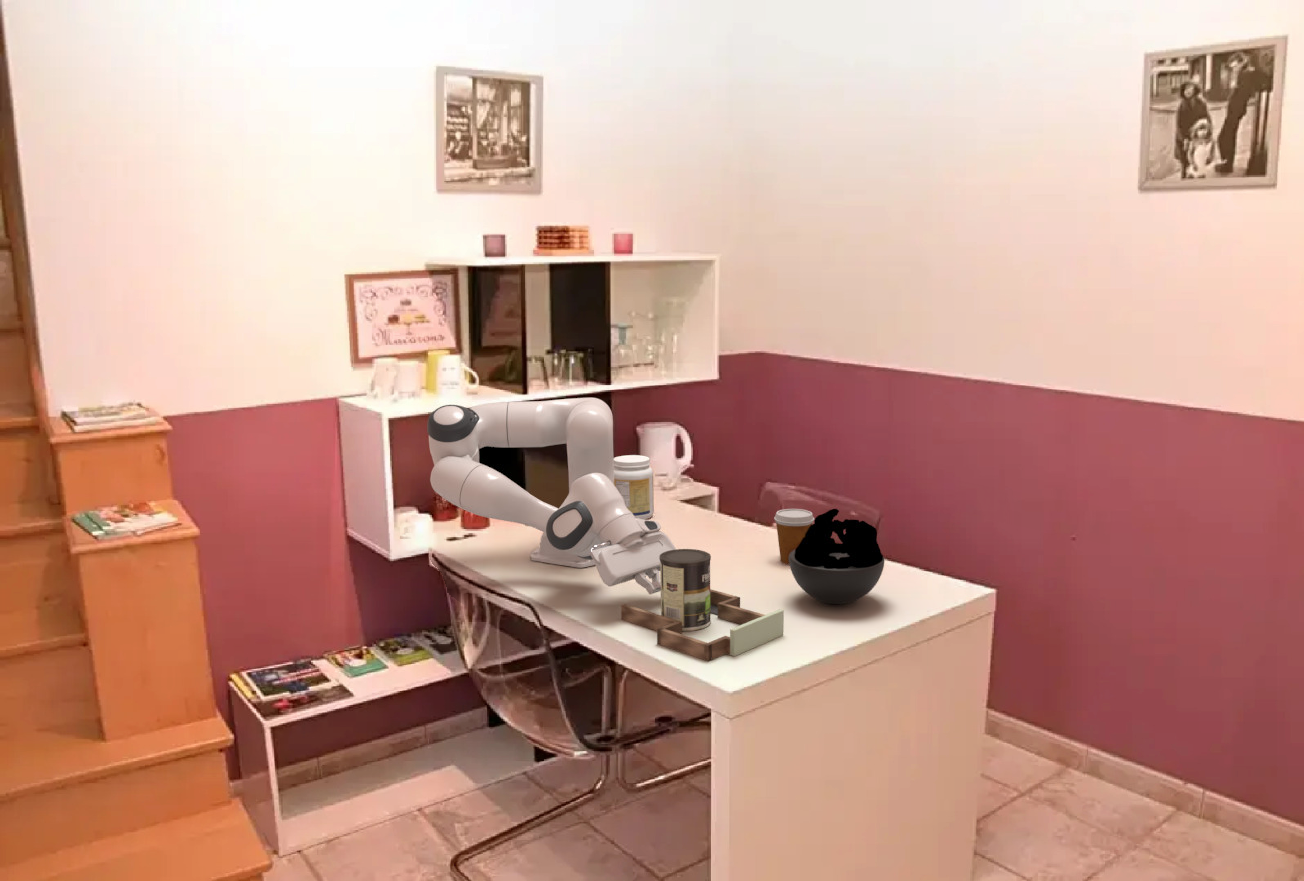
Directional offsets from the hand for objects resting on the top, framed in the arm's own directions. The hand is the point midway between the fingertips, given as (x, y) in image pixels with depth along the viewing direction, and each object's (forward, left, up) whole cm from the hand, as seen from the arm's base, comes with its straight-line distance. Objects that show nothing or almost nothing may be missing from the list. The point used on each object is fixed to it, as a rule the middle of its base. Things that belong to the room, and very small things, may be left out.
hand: (656, 591), depth 218 cm
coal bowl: (+34, +18, -5) cm, 39 cm away
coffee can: (+7, -3, -5) cm, 9 cm away
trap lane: (+11, -5, -5) cm, 13 cm away
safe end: (+24, -11, -5) cm, 27 cm away
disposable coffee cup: (+20, +45, -5) cm, 49 cm away
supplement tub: (-32, +76, -5) cm, 82 cm away
